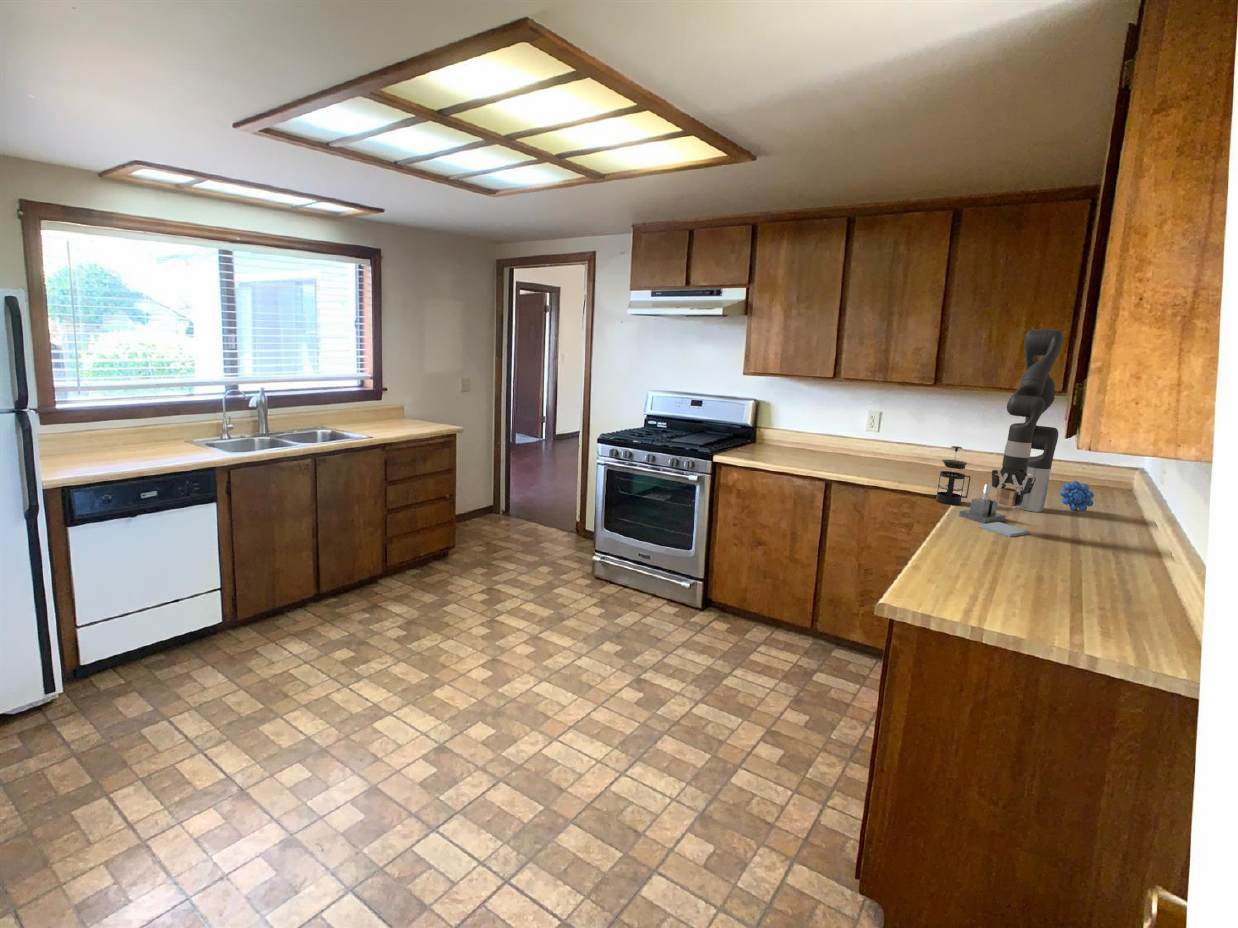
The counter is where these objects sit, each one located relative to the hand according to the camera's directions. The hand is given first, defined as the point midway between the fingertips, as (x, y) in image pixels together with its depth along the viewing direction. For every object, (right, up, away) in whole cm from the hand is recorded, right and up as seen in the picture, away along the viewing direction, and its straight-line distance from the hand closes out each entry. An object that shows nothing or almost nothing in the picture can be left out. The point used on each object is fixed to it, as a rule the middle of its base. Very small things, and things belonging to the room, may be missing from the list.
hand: (1008, 502), depth 220 cm
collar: (0, -1, 0) cm, 0 cm away
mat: (0, -10, +2) cm, 10 cm away
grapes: (+48, -6, +36) cm, 60 cm away
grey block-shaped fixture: (+1, -7, +17) cm, 18 cm away
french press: (0, -3, +39) cm, 39 cm away
